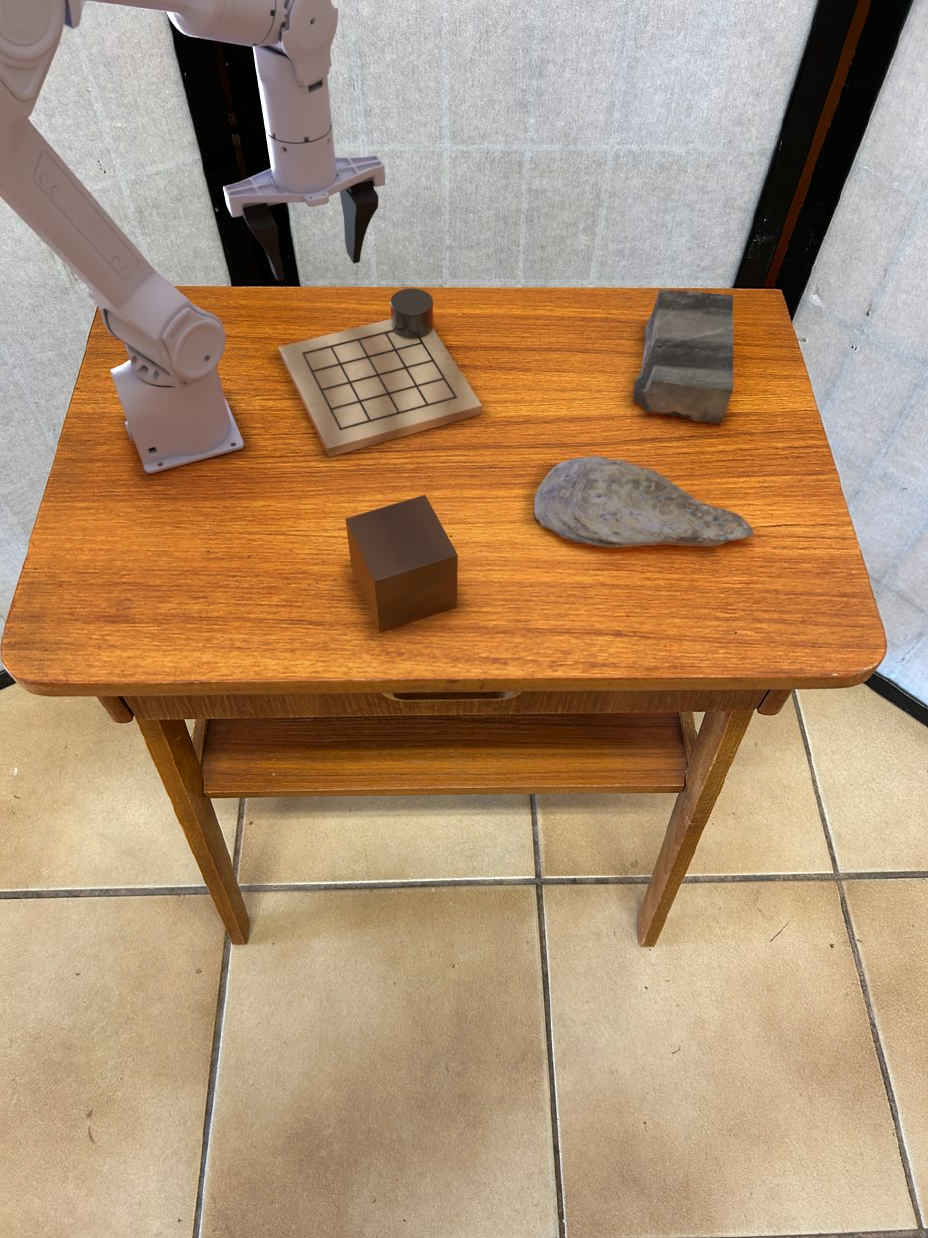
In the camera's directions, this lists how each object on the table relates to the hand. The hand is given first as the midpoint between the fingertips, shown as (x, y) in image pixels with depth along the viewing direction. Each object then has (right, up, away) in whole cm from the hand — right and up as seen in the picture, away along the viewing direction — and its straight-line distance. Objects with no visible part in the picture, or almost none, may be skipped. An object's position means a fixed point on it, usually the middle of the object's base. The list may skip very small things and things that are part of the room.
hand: (316, 265), depth 93 cm
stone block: (+37, -9, +6) cm, 38 cm away
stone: (+31, -25, -6) cm, 40 cm away
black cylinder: (+9, -3, +8) cm, 12 cm away
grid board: (+6, -11, +4) cm, 13 cm away
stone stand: (+9, -32, -11) cm, 35 cm away
